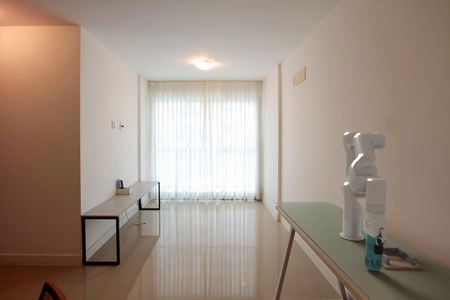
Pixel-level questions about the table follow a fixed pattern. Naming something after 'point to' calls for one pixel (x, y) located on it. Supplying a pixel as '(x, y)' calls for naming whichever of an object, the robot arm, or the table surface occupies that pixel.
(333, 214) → the table surface
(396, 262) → the tray
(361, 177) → the robot arm
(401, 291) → the table surface
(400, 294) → the table surface
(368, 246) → the beverage bottle
